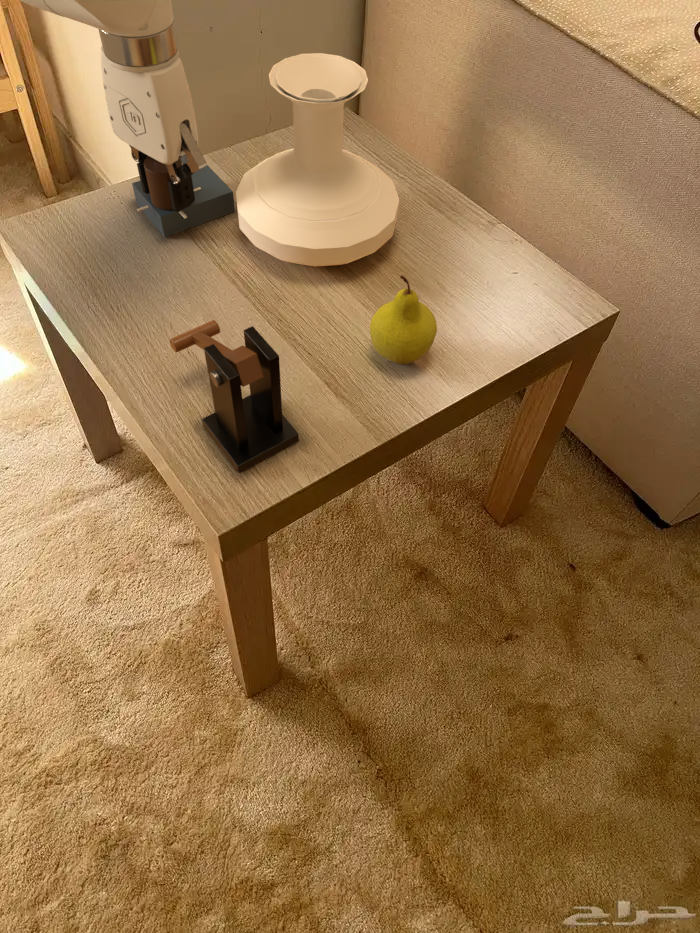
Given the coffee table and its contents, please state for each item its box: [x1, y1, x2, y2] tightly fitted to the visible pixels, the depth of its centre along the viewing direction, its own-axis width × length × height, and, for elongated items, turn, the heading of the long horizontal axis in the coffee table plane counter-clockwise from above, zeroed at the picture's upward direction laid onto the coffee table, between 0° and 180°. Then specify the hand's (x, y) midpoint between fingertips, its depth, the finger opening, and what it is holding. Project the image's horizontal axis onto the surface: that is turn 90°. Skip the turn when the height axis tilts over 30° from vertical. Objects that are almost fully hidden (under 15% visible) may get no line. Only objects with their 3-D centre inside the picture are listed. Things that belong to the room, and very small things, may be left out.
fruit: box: [369, 275, 438, 365], centre depth 73 cm, size 7×7×12 cm
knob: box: [144, 156, 183, 210], centre depth 85 cm, size 4×4×5 cm
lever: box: [169, 319, 264, 388], centre depth 66 cm, size 13×5×2 cm, turn 36°
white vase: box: [235, 52, 400, 268], centre depth 81 cm, size 20×20×19 cm
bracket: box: [201, 325, 300, 474], centre depth 66 cm, size 7×7×12 cm
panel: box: [131, 164, 236, 238], centre depth 89 cm, size 12×10×3 cm
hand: (169, 195), depth 86 cm, fingers closed on knob, 4 cm apart
